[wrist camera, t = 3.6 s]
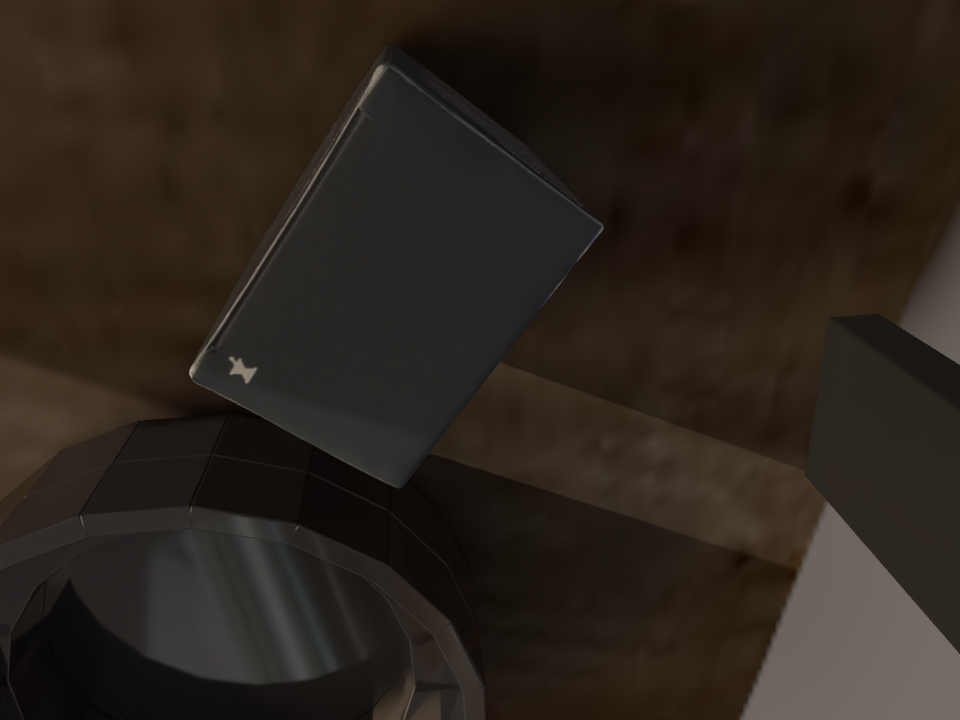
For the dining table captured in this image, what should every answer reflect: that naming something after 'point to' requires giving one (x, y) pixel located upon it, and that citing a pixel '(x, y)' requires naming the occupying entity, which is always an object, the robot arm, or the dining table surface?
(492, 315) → the box
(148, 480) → the bowl
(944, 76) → the dining table surface
